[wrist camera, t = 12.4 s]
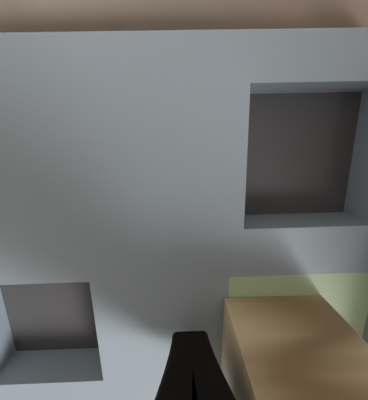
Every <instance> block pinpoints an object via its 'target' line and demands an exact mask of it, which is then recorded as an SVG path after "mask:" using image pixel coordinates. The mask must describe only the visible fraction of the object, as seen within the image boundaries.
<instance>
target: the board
mask: <svg viewBox="0 0 368 400" xmlns="http://www.w3.org/2000/svg"><path fill="white" fill-rule="evenodd" d="M305 295H321V296H322V297H323V298H324V299H325V300H326V301H327V302H328V303H329V304H330V305H331V306H332V307H333V308H334V309H335V310H336V311H337V312H338V313H339V314H340V315H341V316H342V317H343V318H344V320H345V321H346V322H347V323H348V324H349V325H350V326H351V327H352V328H353V329H354V330H355V331H356V332H357V333H358V334H359V335H360V336H361V337H362V338H363V339H364V340H365V341H366V342H367V343H368V27H351V28H280V29H210V30H140V31H69V32H0V400H155V397H156V394H157V392H158V388H159V385H160V382H161V379H162V376H163V373H164V370H165V367H166V363H167V360H168V356H169V352H170V348H171V342H172V335H173V334H174V333H175V332H183V331H205V332H206V333H207V334H208V338H209V341H210V344H211V347H212V349H213V352H214V354H215V357H216V359H217V361H218V363H219V366H220V368H221V356H222V334H223V311H224V298H237V297H271V296H305Z"/></svg>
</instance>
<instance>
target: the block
mask: <svg viewBox="0 0 368 400" xmlns="http://www.w3.org/2000/svg"><path fill="white" fill-rule="evenodd" d="M221 370H222V372H223V374H224V376H225V378H226V380H227V383H228V385H229V387H230V389H231V391H232V393H233V395H234V396H235V398H236V400H368V343H367V342H366V341H365V340H364V339H363V338H362V337H361V336H360V335H359V334H358V333H357V332H356V331H355V330H354V329H353V328H352V327H351V326H350V325H349V324H348V323H347V322H346V321H345V320H344V318H343V317H342V316H341V315H340V314H339V313H338V312H337V311H336V310H335V309H334V308H333V307H332V306H331V305H330V304H329V303H328V302H327V301H326V300H325V299H324V298H323V297H322V296H321V295H305V296H271V297H237V298H224V311H223V334H222V356H221Z"/></svg>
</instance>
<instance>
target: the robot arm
mask: <svg viewBox="0 0 368 400" xmlns="http://www.w3.org/2000/svg"><path fill="white" fill-rule="evenodd" d="M155 400H236V398H235V396H234V395H233V393H232V391H231V389H230V387H229V385H228V383H227V380H226V378H225V376H224V374H223V372H222V370H221V368H220V366H219V363H218V361H217V359H216V357H215V354H214V352H213V349H212V347H211V344H210V341H209V338H208V334H207V333H206V332H205V331H183V332H175V333H174V334H173V335H172V342H171V348H170V352H169V356H168V360H167V363H166V367H165V370H164V373H163V376H162V379H161V382H160V385H159V388H158V392H157V394H156V397H155Z"/></svg>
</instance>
